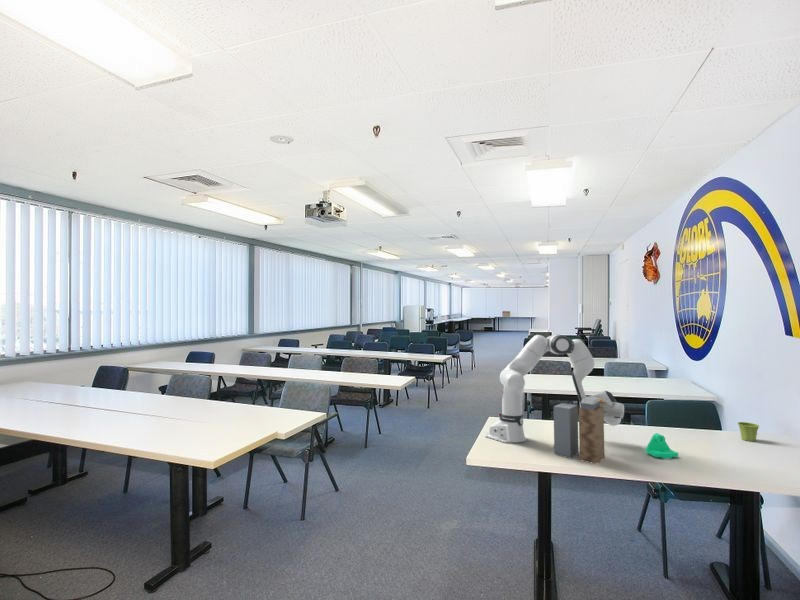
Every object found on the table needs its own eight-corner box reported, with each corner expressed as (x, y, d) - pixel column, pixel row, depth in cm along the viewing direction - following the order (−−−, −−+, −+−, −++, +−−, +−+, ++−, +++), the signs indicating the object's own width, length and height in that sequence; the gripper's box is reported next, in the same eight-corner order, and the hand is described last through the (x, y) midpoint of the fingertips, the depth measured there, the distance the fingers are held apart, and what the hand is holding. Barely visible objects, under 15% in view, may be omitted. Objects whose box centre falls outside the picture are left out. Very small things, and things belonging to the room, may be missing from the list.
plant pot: (753, 438, 237) (753, 422, 238) (763, 443, 228) (763, 427, 228) (734, 437, 240) (734, 421, 240) (743, 442, 231) (743, 426, 231)
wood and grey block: (580, 408, 205) (580, 399, 205) (594, 401, 219) (594, 393, 219) (593, 410, 201) (593, 400, 201) (606, 403, 215) (606, 394, 215)
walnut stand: (579, 460, 205) (578, 408, 205) (587, 454, 213) (586, 404, 213) (597, 463, 199) (596, 410, 200) (604, 457, 207) (603, 406, 208)
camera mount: (655, 459, 205) (655, 438, 205) (645, 454, 213) (645, 433, 213) (679, 458, 206) (678, 437, 206) (668, 453, 214) (667, 433, 214)
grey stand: (554, 454, 213) (553, 406, 214) (562, 448, 221) (562, 402, 222) (570, 457, 208) (569, 408, 208) (578, 452, 216) (577, 405, 216)
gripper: (586, 401, 231) (578, 392, 223) (627, 407, 218) (620, 397, 209) (584, 412, 229) (576, 403, 220) (626, 418, 215) (618, 409, 207)
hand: (598, 400), depth 215 cm, fingers open, 6 cm apart
